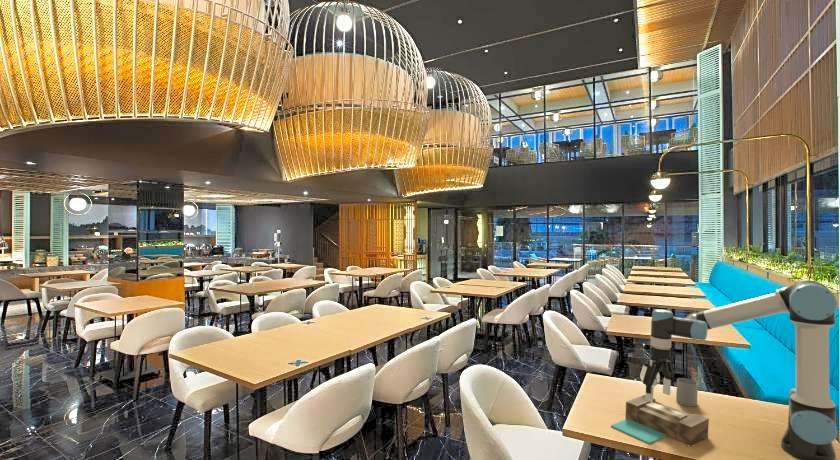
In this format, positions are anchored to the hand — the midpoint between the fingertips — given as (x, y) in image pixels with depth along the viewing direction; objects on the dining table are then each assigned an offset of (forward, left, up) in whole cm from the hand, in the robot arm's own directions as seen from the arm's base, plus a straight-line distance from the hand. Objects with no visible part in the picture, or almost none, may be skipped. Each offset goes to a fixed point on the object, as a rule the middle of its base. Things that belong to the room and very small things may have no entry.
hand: (657, 397), depth 179 cm
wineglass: (+13, -17, -12) cm, 24 cm away
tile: (-3, 0, -6) cm, 7 cm away
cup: (+5, -35, -12) cm, 37 cm away
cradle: (-3, 0, -11) cm, 12 cm away
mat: (+1, +13, -11) cm, 17 cm away
